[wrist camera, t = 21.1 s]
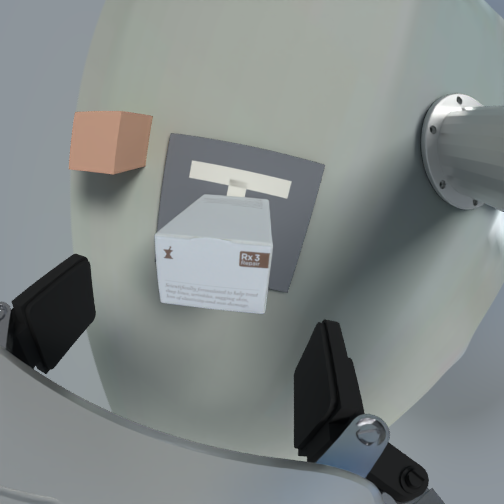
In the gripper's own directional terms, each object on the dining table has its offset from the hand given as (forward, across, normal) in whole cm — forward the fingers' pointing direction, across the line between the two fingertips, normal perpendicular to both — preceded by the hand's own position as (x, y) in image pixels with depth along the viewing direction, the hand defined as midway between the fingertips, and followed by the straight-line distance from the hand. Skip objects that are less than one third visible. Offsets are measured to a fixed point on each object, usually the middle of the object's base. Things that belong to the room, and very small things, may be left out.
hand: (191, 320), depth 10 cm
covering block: (+16, +13, -5) cm, 21 cm away
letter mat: (+16, +1, +1) cm, 16 cm away
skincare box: (+16, +1, +1) cm, 16 cm away
